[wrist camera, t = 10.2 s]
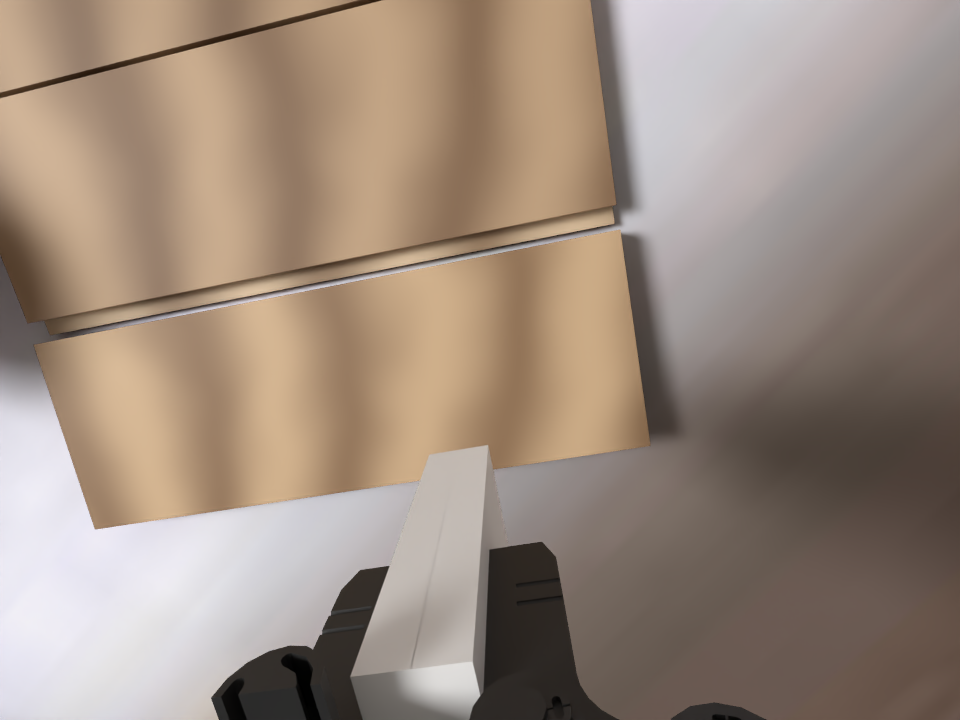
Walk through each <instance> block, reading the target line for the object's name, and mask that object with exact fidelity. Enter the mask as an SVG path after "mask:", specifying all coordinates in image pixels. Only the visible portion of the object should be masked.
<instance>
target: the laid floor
mask: <svg viewBox="0 0 960 720" xmlns="http://www.w3.org/2000/svg"><path fill="white" fill-rule="evenodd" d="M614 205H616V197H615V189H614V182H613V174H612V166H611V158H610V150H609V142H608V134H607V126H606V119H605V111H604V103H603V95H602V87H601V79H600V71H599V63H598V56H597V48H596V40H595V32H594V24H593V16H592V8H591V1H590V0H0V255H1V258H2V260H3V263H4V265H5V268H6V270H7V273H8V275H9V278H10V280H11V283H12V285H13V288H14V290H15V293H16V295H17V298H18V300H19V303H20V305H21V308H22V310H23V313H24V316H25V318H26V321H27V323H33V322H39V321H45V324H46V327H47V329H48V332H49V334H50V335H54V334H59V333H64V332H70V331H75V330H80V329H85V328H90V327H95V326H100V325H105V324H110V323H115V322H120V321H125V320H130V319H135V318H140V317H145V316H150V315H155V314H161V313H166V312H171V311H176V310H181V309H186V308H191V307H196V306H201V305H206V304H211V303H216V302H221V301H226V300H231V299H236V298H241V297H246V296H252V295H257V294H262V293H267V292H272V291H277V290H282V289H287V288H292V287H297V286H302V285H307V284H312V283H317V282H322V281H327V280H332V279H338V278H343V277H348V276H353V275H358V274H363V273H368V272H373V271H378V270H383V269H388V268H393V267H398V266H403V265H408V264H413V263H418V262H423V261H429V260H434V259H439V258H444V257H449V256H454V255H459V254H464V253H469V252H474V251H479V250H484V249H489V248H494V247H499V246H504V245H509V244H514V243H520V242H525V241H530V240H535V239H540V238H545V237H550V236H555V235H560V234H565V233H570V232H575V231H580V230H585V229H590V228H595V227H600V226H605V225H611V224H615V223H614V215H613V207H612V206H614Z"/></svg>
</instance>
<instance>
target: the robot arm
mask: <svg viewBox="0 0 960 720" xmlns="http://www.w3.org/2000/svg"><path fill="white" fill-rule="evenodd" d="M211 699H212V702H213V704H214V707H215V710H216V713H217V715H218V718H219V720H618V719H616V718H614V717H613V716H611V715H609V714H607V713H606V712H604V711H602V710H601V709H600V708H599V707H598V706H596V705H595V704H594V703H593V702H592V701H591V700H590V699H589V698H588V696H587V695H586V693H585V692H584V690H583V689H582V687H581V686H580V683H579V680H578V677H577V673H576V667H575V661H574V656H573V650H572V644H571V639H570V633H569V627H568V622H567V616H566V611H565V605H564V599H563V594H562V588H561V583H560V577H559V572H558V566H557V560H556V557H555V556H554V555H553V553H552V552H551V551H550V550H549V549H548V548H547V547H546V546H545V545H544V544H543V542H537V543H530V544H523V545H516V546H510V547H508V541H507V536H506V531H505V526H504V521H503V516H502V511H501V506H500V502H499V497H498V492H497V487H496V482H495V477H494V472H493V467H492V462H491V457H490V452H489V447H488V445H485V446H479V447H473V448H467V449H461V450H455V451H448V452H442V453H436V454H430V455H429V457H428V460H427V462H426V465H425V468H424V471H423V474H422V477H421V479H420V482H419V485H418V488H417V491H416V493H415V496H414V499H413V502H412V505H411V507H410V510H409V513H408V516H407V519H406V521H405V524H404V527H403V530H402V533H401V536H400V538H399V541H398V544H397V547H396V550H395V552H394V555H393V558H392V561H391V564H390V566H386V567H379V568H372V569H365V570H360V571H359V572H358V573H357V574H356V575H355V576H354V577H353V578H352V579H351V580H350V581H349V582H348V583H347V585H346V586H345V587H344V588H343V589H342V590H341V592H340V594H339V596H338V598H337V600H336V602H335V604H334V606H333V609H332V611H331V616H329V617H328V619H327V621H326V623H325V626H324V628H323V630H322V635H320V636H319V638H318V640H317V642H316V645H315V647H314V649H313V650H312V649H311V648H309V647H307V646H287V647H283V648H279V649H276V650H272V651H269V652H267V653H265V654H263V655H261V656H259V657H257V658H255V659H253V660H252V661H250V662H248V663H246V664H245V665H244V666H243V667H241V668H240V669H239V670H238V671H236V672H235V673H234V674H233V675H231V676H230V677H229V678H228V679H227V680H226V681H225V682H224V683H223V684H222V686H221V687H220V688H219V689H218V690H217V692H216V693H215V694H214V695H213V696H212V698H211ZM671 720H766V719H764V718H762V717H760V716H757V715H755V714H753V713H751V712H749V711H747V710H745V709H743V708H741V707H736V706H730V705H725V704H719V703H708V704H702V705H695V706H690V707H688V708H687V709H685V710H684V711H682V712H681V713H679V714H677V715H676V716H674V717H673V718H672V719H671Z"/></svg>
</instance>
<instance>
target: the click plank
mask: <svg viewBox="0 0 960 720" xmlns="http://www.w3.org/2000/svg"><path fill="white" fill-rule="evenodd" d="M34 348H35V351H36V354H37V357H38V360H39V363H40V366H41V369H42V372H43V375H44V378H45V381H46V384H47V387H48V390H49V393H50V396H51V399H52V402H53V405H54V408H55V411H56V414H57V417H58V420H59V423H60V426H61V429H62V432H63V435H64V438H65V441H66V444H67V447H68V450H69V453H70V456H71V459H72V462H73V465H74V468H75V471H76V474H77V477H78V480H79V483H80V486H81V489H82V492H83V495H84V498H85V501H86V504H87V507H88V510H89V513H90V516H91V519H92V522H93V525H94V528H95V529H101V528H108V527H114V526H121V525H128V524H134V523H141V522H148V521H154V520H161V519H168V518H174V517H181V516H188V515H194V514H201V513H207V512H214V511H221V510H227V509H234V508H241V507H247V506H254V505H261V504H267V503H274V502H280V501H287V500H294V499H300V498H307V497H314V496H320V495H327V494H334V493H340V492H347V491H354V490H360V489H367V488H373V487H380V486H387V485H393V484H400V483H407V482H413V481H420V479H421V477H422V474H423V471H424V468H425V465H426V462H427V460H428V457H429V455H430V454H436V453H442V452H448V451H455V450H461V449H467V448H473V447H479V446H485V445H488V447H489V452H490V457H491V462H492V467H493V469H500V468H506V467H513V466H520V465H526V464H533V463H539V462H546V461H553V460H559V459H566V458H573V457H579V456H586V455H593V454H599V453H606V452H612V451H619V450H626V449H632V448H639V447H646V446H650V439H649V432H648V424H647V417H646V410H645V403H644V396H643V389H642V382H641V374H640V367H639V360H638V353H637V346H636V339H635V331H634V324H633V317H632V310H631V303H630V296H629V289H628V281H627V274H626V267H625V260H624V253H623V246H622V239H621V231H620V230H616V231H610V232H605V233H600V234H595V235H590V236H585V237H580V238H575V239H570V240H565V241H559V242H554V243H549V244H544V245H539V246H534V247H529V248H524V249H519V250H514V251H509V252H503V253H498V254H493V255H488V256H483V257H478V258H473V259H468V260H463V261H458V262H453V263H447V264H442V265H437V266H432V267H427V268H422V269H417V270H412V271H407V272H402V273H396V274H391V275H386V276H381V277H376V278H371V279H366V280H361V281H356V282H351V283H346V284H340V285H335V286H330V287H325V288H320V289H315V290H310V291H305V292H300V293H295V294H290V295H284V296H279V297H274V298H269V299H264V300H259V301H254V302H249V303H244V304H239V305H234V306H228V307H223V308H218V309H213V310H208V311H203V312H198V313H193V314H188V315H183V316H177V317H172V318H167V319H162V320H157V321H152V322H147V323H142V324H137V325H132V326H127V327H121V328H116V329H111V330H106V331H101V332H96V333H91V334H86V335H81V336H76V337H71V338H65V339H60V340H55V341H50V342H45V343H40V344H35V345H34Z"/></svg>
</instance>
